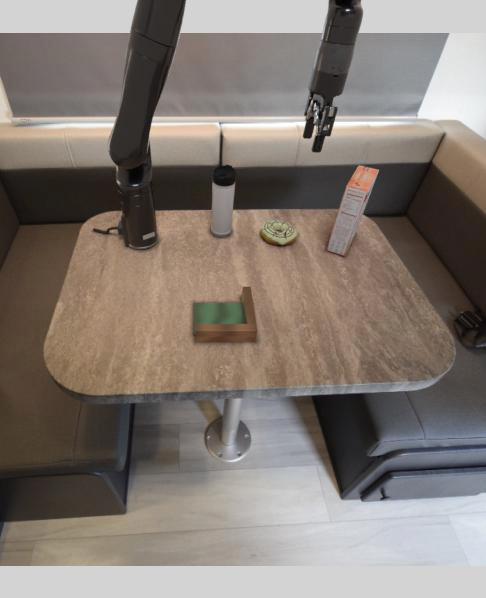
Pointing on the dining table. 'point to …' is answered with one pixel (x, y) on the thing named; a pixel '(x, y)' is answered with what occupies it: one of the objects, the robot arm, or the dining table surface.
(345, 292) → the dining table surface
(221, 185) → the travel mug
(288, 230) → the decorated donut
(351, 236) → the cracker box
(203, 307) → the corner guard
